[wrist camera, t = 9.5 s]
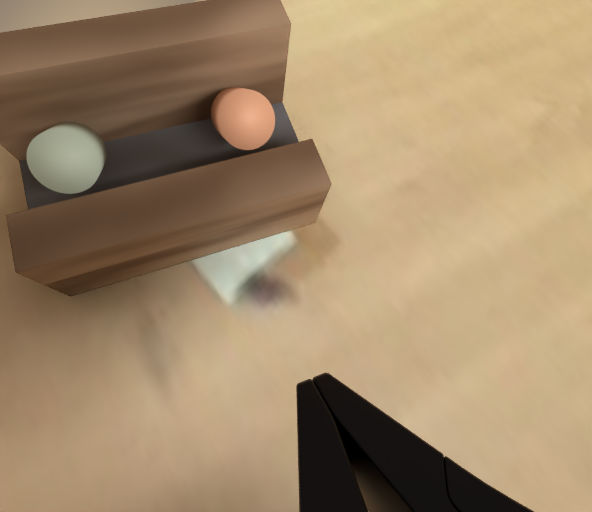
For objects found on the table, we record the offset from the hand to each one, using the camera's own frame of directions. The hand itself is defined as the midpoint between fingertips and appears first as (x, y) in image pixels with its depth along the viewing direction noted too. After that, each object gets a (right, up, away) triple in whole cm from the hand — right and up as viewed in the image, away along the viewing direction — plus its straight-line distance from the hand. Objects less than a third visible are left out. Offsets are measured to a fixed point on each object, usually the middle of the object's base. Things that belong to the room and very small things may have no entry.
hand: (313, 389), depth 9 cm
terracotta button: (-4, +10, +13) cm, 17 cm away
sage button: (-12, +8, +11) cm, 18 cm away
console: (-8, +7, +16) cm, 19 cm away
